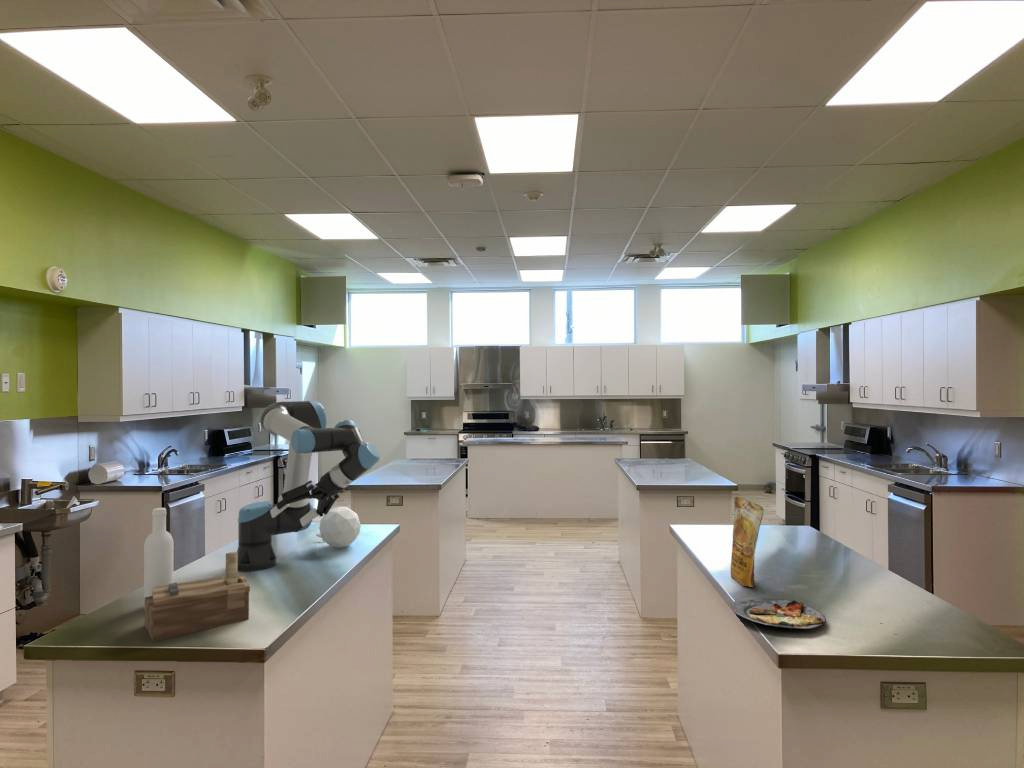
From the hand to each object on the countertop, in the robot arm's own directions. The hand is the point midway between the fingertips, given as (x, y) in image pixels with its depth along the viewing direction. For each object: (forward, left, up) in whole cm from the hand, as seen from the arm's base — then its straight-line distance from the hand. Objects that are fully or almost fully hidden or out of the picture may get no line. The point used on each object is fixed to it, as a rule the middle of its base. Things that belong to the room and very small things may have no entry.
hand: (286, 518), depth 192 cm
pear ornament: (-49, +35, -24) cm, 65 cm away
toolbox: (+6, -27, -25) cm, 37 cm away
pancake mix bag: (+88, +127, -25) cm, 157 cm away
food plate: (+112, +103, -25) cm, 154 cm away
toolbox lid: (+4, -26, -17) cm, 31 cm away
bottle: (-16, -33, -25) cm, 45 cm away
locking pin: (+5, -18, -21) cm, 28 cm away
